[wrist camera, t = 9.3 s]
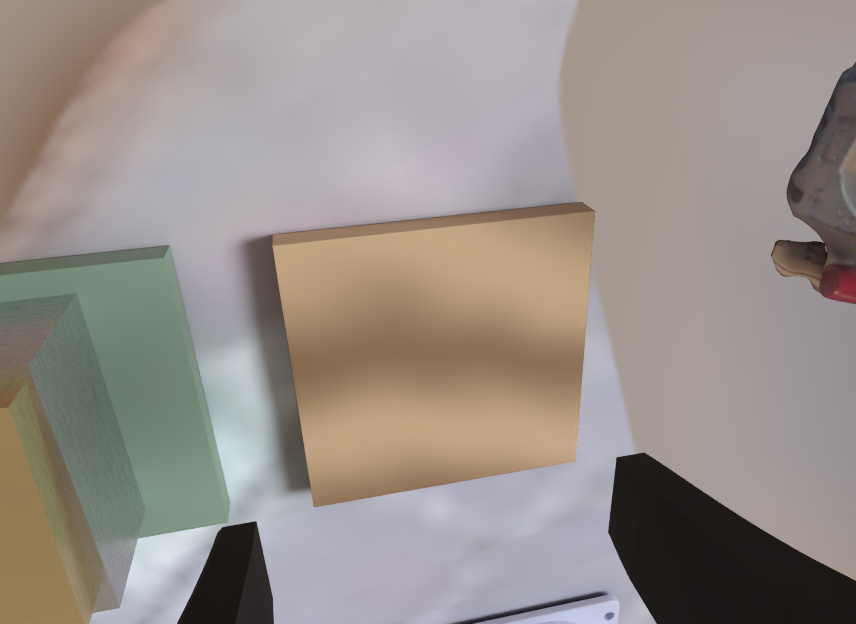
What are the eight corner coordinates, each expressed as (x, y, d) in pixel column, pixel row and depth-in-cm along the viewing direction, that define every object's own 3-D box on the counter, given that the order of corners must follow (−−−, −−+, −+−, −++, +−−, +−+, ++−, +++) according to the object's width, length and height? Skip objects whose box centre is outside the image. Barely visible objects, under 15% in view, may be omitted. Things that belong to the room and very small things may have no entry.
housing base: (77, 293, 18) (27, 364, 15) (145, 508, 22) (119, 607, 18) (-122, 316, 17) (-225, 398, 14) (-17, 536, 21) (-77, 646, 17)
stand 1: (229, 502, 23) (227, 522, 23) (-73, 554, 22) (-88, 577, 21) (169, 245, 19) (163, 257, 18) (-217, 286, 17) (-243, 301, 16)
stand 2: (565, 445, 26) (575, 461, 25) (312, 488, 24) (313, 507, 23) (581, 202, 21) (594, 210, 20) (272, 234, 20) (272, 246, 19)
